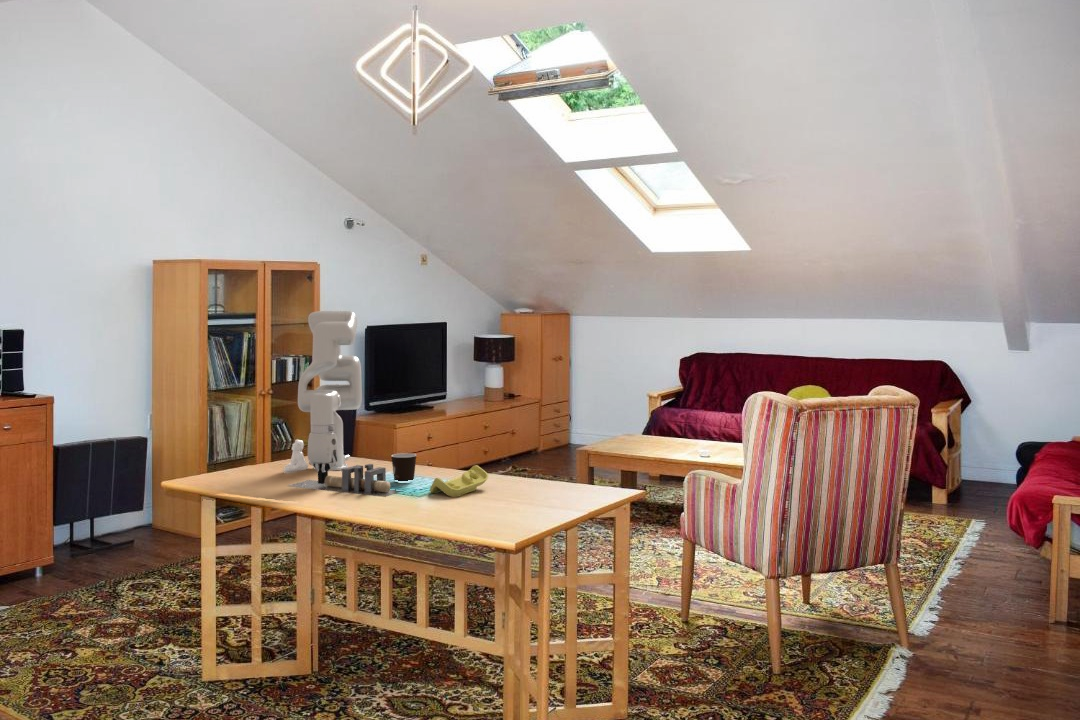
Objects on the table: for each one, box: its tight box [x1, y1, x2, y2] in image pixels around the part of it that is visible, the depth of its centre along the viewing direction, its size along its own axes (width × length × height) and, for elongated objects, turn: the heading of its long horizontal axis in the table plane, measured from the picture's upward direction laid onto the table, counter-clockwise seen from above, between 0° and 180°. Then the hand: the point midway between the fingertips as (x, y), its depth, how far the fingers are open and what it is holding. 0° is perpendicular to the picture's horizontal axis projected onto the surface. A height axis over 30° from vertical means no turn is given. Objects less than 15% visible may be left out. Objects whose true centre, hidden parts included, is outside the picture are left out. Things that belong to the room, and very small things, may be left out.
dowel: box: [325, 475, 391, 493], centre depth 319 cm, size 24×4×4 cm, turn 65°
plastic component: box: [429, 464, 489, 498], centre depth 321 cm, size 20×7×10 cm
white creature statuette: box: [283, 439, 309, 474], centre depth 356 cm, size 10×9×12 cm
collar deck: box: [287, 463, 403, 498], centre depth 321 cm, size 12×40×9 cm, turn 65°
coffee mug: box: [390, 452, 417, 481], centre depth 334 cm, size 12×9×10 cm
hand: (322, 483), depth 325 cm, fingers closed
